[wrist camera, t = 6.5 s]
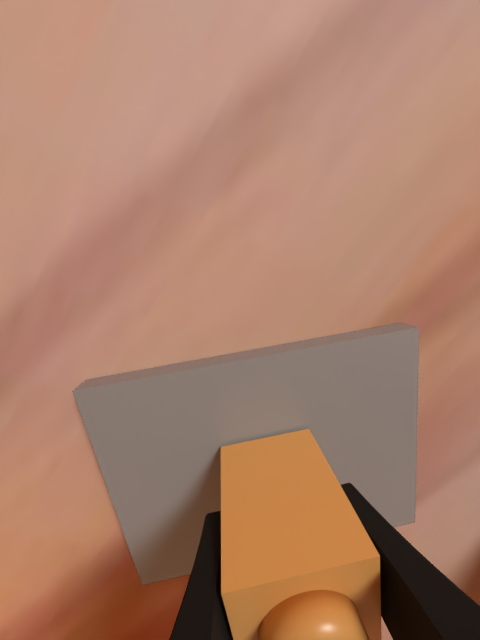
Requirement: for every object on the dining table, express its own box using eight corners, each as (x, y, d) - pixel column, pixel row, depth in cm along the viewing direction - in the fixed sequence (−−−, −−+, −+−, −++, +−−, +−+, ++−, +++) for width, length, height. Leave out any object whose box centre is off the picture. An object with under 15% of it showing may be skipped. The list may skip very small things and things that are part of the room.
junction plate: (402, 322, 11) (496, 348, 8) (401, 504, 14) (471, 593, 10) (85, 380, 11) (8, 442, 7) (147, 562, 13) (117, 683, 9)
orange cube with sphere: (308, 428, 11) (403, 598, 5) (316, 497, 12) (401, 700, 6) (220, 446, 11) (221, 643, 5) (235, 515, 12) (250, 741, 6)
